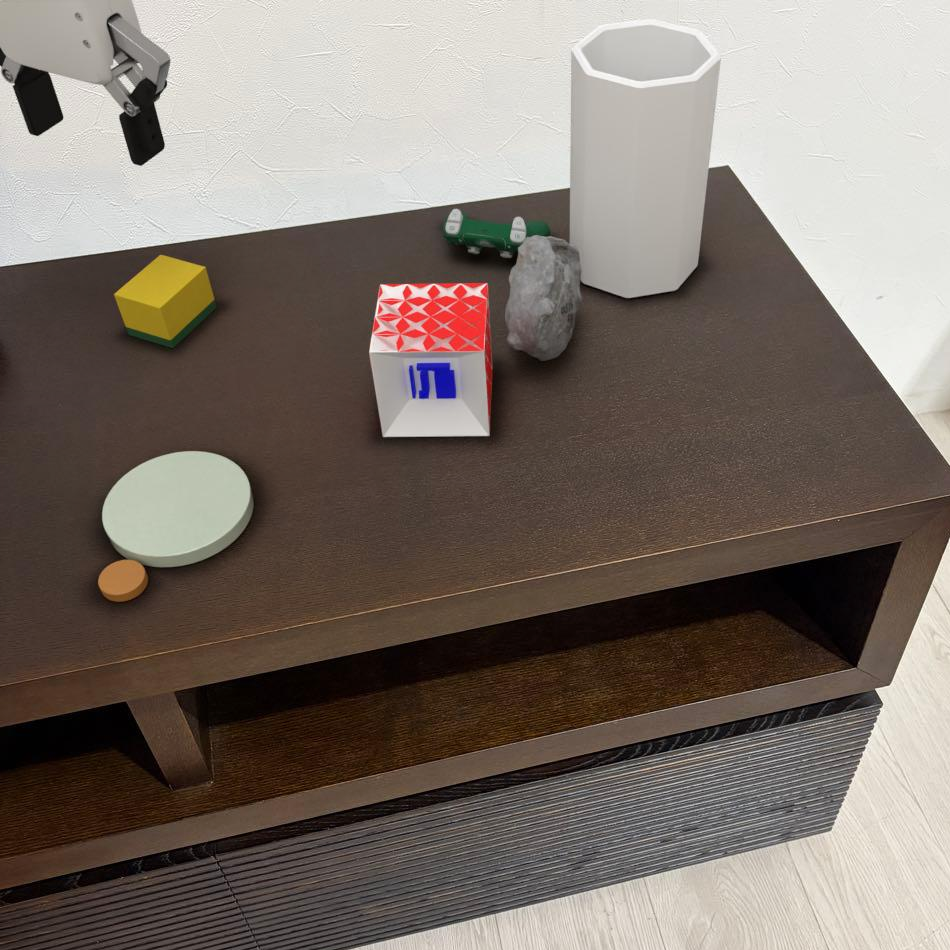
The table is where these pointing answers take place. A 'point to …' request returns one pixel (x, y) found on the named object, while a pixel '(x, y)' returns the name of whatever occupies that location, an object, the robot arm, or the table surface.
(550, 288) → the stone
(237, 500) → the plate
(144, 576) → the orange flat disc
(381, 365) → the puzzle cube
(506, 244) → the gaming controller
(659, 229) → the cup
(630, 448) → the table surface
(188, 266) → the sponge
